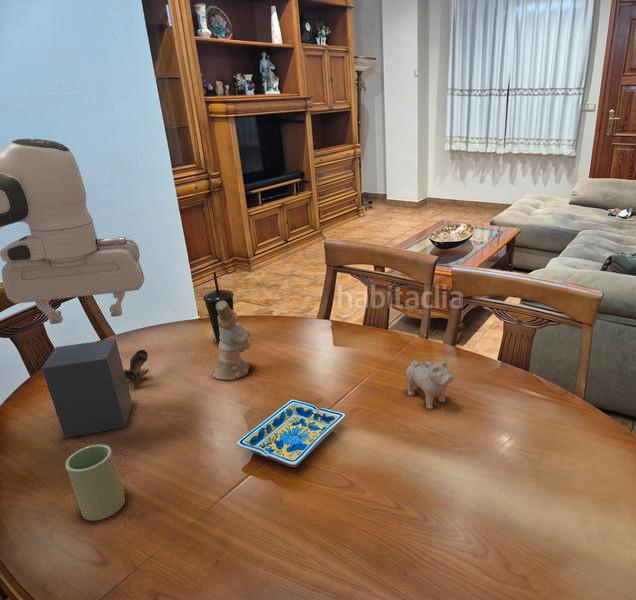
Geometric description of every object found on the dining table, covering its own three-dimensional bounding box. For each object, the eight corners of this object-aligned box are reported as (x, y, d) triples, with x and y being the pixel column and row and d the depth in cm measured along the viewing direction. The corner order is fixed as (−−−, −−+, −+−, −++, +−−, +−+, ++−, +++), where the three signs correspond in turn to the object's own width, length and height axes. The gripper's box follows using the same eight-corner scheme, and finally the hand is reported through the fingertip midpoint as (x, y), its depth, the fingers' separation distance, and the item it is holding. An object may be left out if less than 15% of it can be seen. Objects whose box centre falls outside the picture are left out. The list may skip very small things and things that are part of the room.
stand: (64, 438, 102) (41, 368, 95) (76, 413, 110) (55, 346, 103) (125, 427, 104) (106, 358, 98) (132, 403, 112) (115, 338, 106)
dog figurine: (441, 418, 105) (442, 373, 101) (402, 391, 115) (401, 349, 110) (459, 408, 108) (461, 364, 104) (420, 383, 118) (420, 342, 113)
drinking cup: (210, 350, 135) (197, 279, 127) (212, 337, 142) (200, 269, 134) (240, 346, 137) (229, 275, 129) (240, 333, 144) (230, 266, 136)
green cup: (77, 525, 81) (59, 475, 77) (87, 496, 87) (71, 448, 83) (121, 515, 83) (106, 466, 79) (128, 488, 88) (114, 440, 85)
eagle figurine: (161, 378, 120) (156, 356, 126) (137, 362, 115) (133, 340, 122) (134, 399, 119) (131, 376, 126) (110, 384, 114) (107, 361, 121)
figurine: (231, 385, 118) (218, 306, 111) (207, 376, 122) (193, 299, 115) (260, 369, 125) (249, 293, 118) (236, 360, 129) (224, 287, 122)
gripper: (138, 231, 90) (154, 304, 95) (3, 243, 84) (27, 319, 89) (132, 240, 84) (149, 317, 89) (-13, 253, 79) (14, 334, 84)
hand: (87, 318), depth 89 cm, fingers open, 8 cm apart
